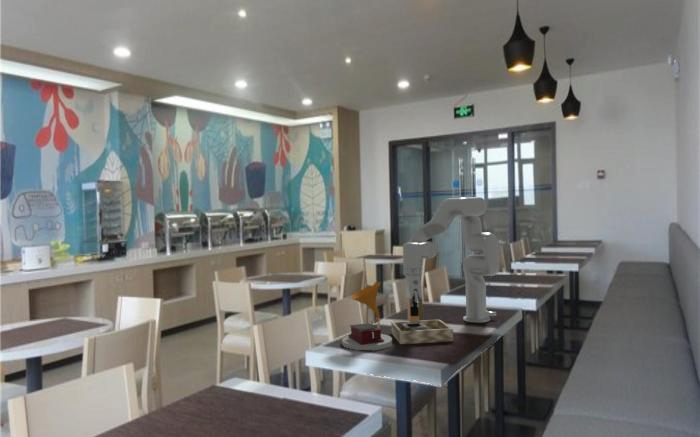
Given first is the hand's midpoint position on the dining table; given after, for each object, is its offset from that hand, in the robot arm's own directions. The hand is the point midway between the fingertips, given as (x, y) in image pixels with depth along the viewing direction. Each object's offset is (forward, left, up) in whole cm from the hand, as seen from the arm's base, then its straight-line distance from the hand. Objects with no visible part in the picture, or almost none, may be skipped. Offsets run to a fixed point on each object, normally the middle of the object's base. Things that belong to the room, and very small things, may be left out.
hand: (413, 314), depth 206 cm
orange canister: (0, 0, -3) cm, 3 cm away
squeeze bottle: (-7, -25, -10) cm, 28 cm away
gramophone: (+21, +5, -10) cm, 24 cm away
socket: (0, 0, -10) cm, 10 cm away
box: (-3, 0, -10) cm, 10 cm away
